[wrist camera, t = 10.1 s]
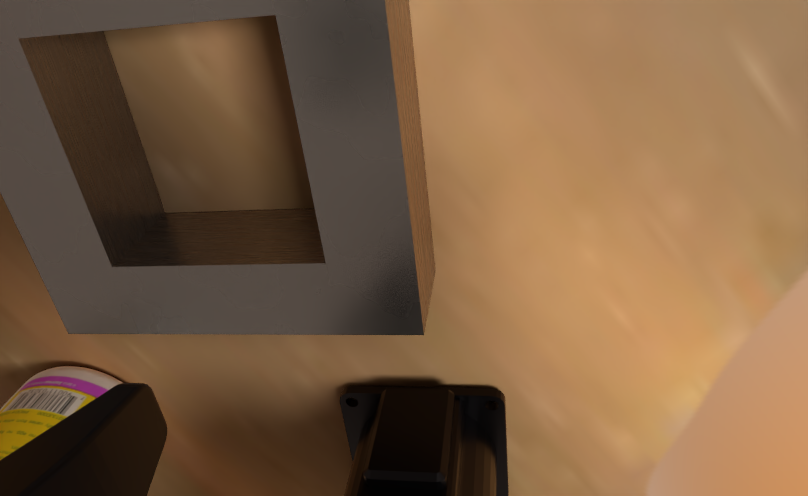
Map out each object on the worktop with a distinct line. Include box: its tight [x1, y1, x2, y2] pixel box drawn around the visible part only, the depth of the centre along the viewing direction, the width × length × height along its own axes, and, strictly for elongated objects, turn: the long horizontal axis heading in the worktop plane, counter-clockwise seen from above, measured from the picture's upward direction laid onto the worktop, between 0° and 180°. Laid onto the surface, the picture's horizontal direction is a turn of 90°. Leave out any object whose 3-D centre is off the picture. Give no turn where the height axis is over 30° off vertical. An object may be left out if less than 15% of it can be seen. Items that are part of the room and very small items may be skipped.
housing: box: [0, 0, 435, 335], centre depth 18 cm, size 12×12×4 cm
